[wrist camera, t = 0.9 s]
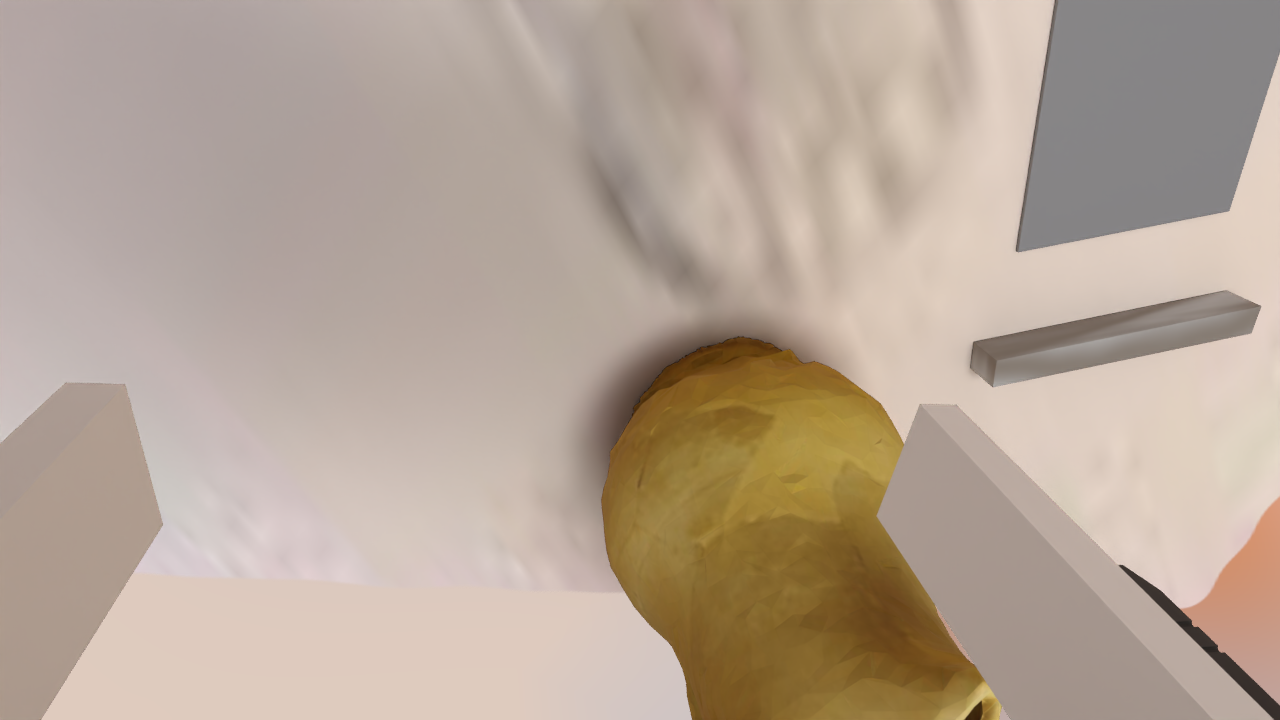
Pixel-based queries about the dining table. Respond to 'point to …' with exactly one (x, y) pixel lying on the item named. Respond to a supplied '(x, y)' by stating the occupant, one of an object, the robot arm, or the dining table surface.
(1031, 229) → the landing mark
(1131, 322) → the wall
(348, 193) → the dining table surface
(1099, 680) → the robot arm
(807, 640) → the pitcher
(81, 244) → the dining table surface
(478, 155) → the dining table surface
